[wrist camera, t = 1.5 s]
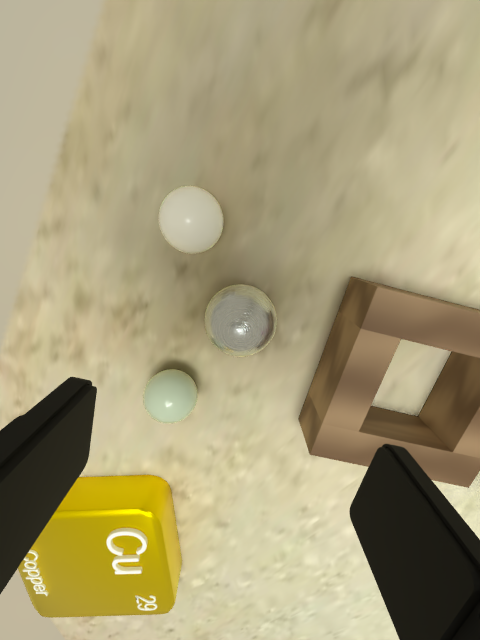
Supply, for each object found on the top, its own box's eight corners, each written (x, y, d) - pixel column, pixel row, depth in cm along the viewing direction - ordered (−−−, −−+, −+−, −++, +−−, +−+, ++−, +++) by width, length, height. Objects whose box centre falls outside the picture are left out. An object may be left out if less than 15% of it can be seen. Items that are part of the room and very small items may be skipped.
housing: (351, 276, 22) (377, 286, 18) (506, 317, 24) (566, 335, 19) (298, 418, 27) (309, 454, 22) (433, 448, 28) (468, 487, 23)
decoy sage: (156, 355, 25) (139, 380, 20) (205, 366, 25) (198, 393, 21) (149, 397, 26) (131, 429, 22) (195, 407, 26) (187, 440, 22)
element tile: (27, 475, 29) (-12, 520, 25) (169, 470, 29) (156, 515, 24) (61, 572, 34) (33, 626, 29) (184, 569, 33) (175, 622, 29)
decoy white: (173, 183, 20) (155, 171, 16) (231, 199, 21) (228, 191, 17) (163, 243, 22) (144, 246, 18) (217, 257, 22) (212, 263, 18)
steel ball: (216, 271, 22) (209, 283, 17) (280, 287, 23) (292, 303, 18) (202, 332, 24) (192, 360, 19) (262, 346, 24) (268, 377, 19)
